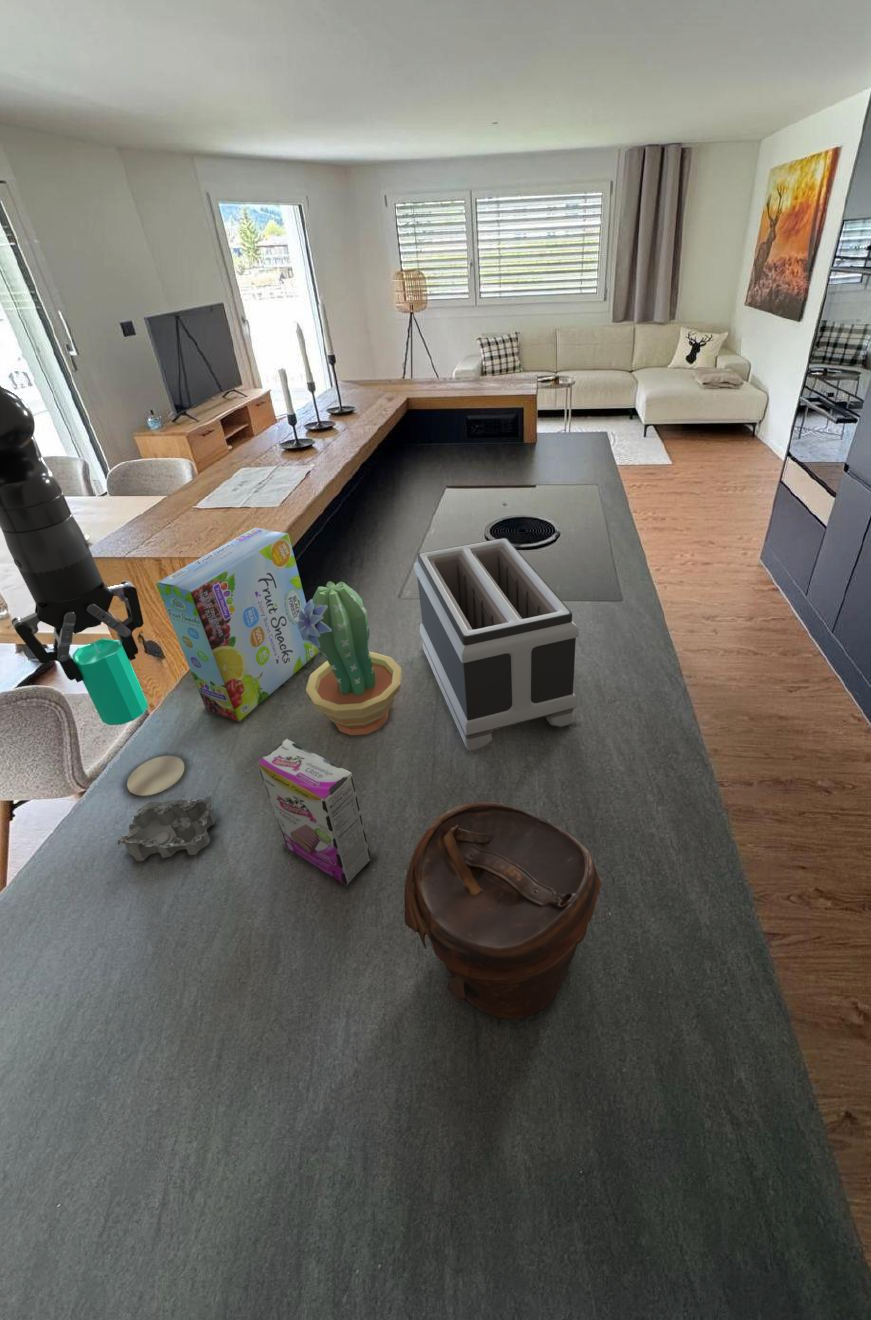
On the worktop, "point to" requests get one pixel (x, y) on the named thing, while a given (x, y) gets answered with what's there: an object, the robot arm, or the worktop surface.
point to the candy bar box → (316, 810)
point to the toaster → (495, 639)
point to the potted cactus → (347, 662)
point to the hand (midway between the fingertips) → (105, 667)
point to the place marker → (155, 776)
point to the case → (501, 904)
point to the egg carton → (169, 828)
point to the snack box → (239, 620)
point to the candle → (110, 681)
